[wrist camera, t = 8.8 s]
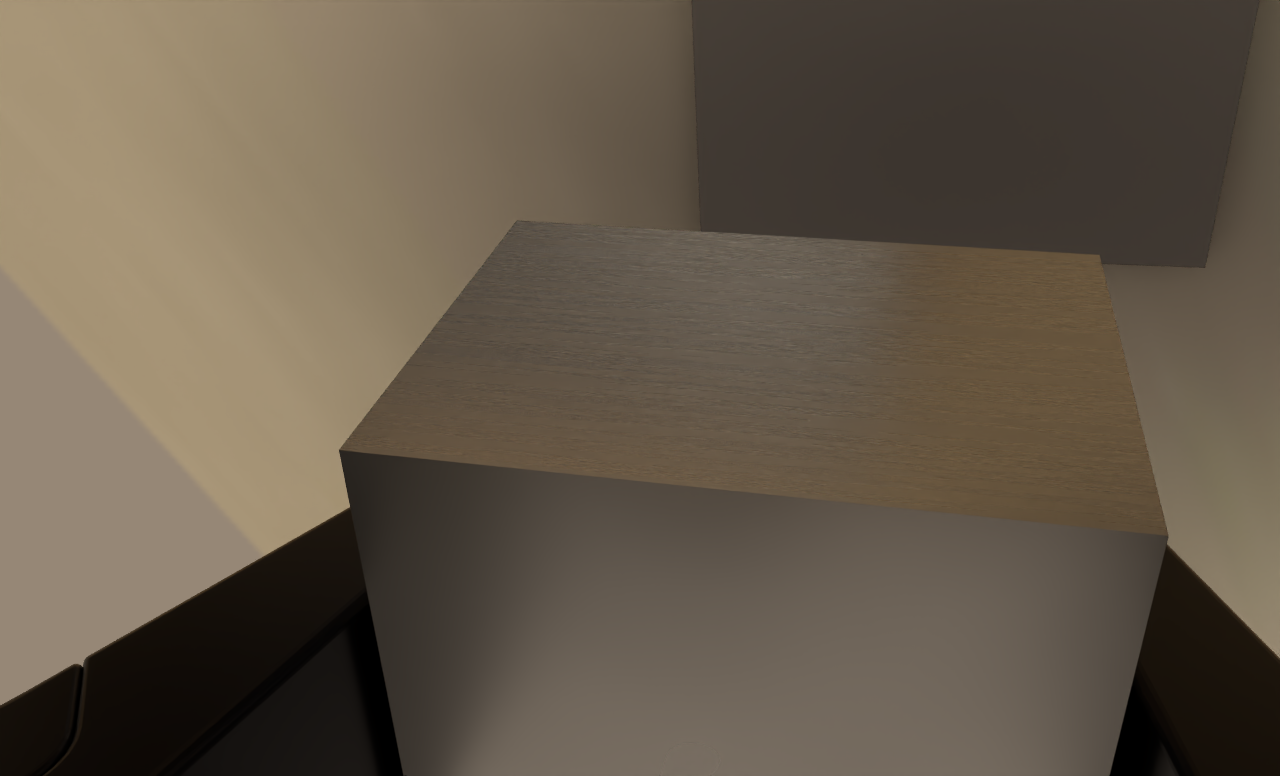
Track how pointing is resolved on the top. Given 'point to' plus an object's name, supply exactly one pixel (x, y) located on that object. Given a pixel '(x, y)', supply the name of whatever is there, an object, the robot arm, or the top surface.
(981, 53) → the rubber pad
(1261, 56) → the top surface
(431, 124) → the top surface
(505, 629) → the lever cap
